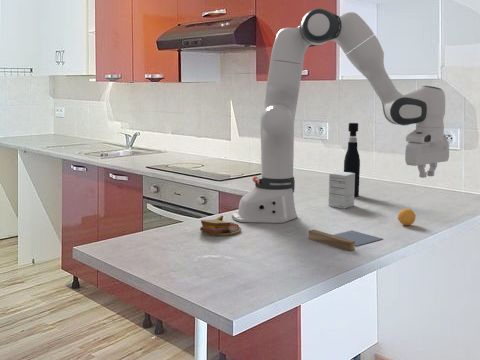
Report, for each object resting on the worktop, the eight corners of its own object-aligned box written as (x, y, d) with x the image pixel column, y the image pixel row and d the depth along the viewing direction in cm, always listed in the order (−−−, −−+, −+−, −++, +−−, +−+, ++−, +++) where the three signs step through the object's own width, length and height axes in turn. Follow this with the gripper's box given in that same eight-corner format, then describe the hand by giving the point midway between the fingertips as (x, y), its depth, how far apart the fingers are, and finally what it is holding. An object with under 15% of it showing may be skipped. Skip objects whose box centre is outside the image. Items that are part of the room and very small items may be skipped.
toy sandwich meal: (249, 233, 173) (249, 218, 172) (214, 240, 165) (213, 225, 164) (225, 225, 183) (225, 211, 182) (191, 231, 175) (190, 217, 174)
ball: (401, 227, 179) (402, 210, 178) (394, 223, 185) (395, 207, 184) (418, 226, 180) (419, 210, 179) (410, 222, 185) (411, 206, 184)
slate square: (356, 246, 158) (356, 245, 158) (325, 237, 168) (325, 236, 168) (382, 239, 166) (382, 238, 166) (351, 230, 175) (351, 230, 175)
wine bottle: (356, 194, 233) (359, 122, 228) (360, 197, 227) (363, 123, 222) (341, 194, 233) (343, 122, 228) (344, 197, 227) (347, 123, 222)
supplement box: (337, 203, 216) (338, 170, 214) (354, 205, 211) (355, 172, 209) (327, 206, 210) (328, 173, 208) (345, 208, 206) (346, 175, 204)
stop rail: (349, 251, 154) (350, 242, 153) (308, 238, 166) (308, 230, 166) (354, 249, 155) (354, 241, 154) (313, 237, 167) (313, 229, 167)
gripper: (438, 133, 192) (436, 172, 195) (402, 136, 180) (400, 178, 182) (455, 134, 187) (452, 175, 190) (419, 138, 175) (417, 181, 177)
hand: (426, 176), depth 186 cm, fingers open, 3 cm apart
